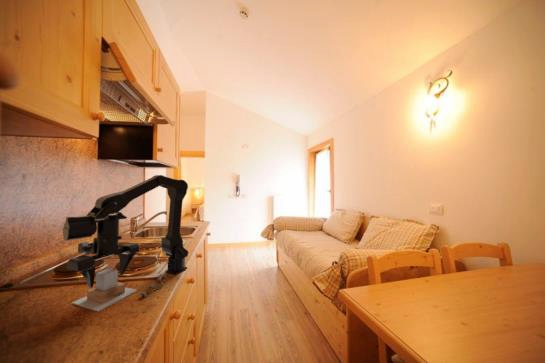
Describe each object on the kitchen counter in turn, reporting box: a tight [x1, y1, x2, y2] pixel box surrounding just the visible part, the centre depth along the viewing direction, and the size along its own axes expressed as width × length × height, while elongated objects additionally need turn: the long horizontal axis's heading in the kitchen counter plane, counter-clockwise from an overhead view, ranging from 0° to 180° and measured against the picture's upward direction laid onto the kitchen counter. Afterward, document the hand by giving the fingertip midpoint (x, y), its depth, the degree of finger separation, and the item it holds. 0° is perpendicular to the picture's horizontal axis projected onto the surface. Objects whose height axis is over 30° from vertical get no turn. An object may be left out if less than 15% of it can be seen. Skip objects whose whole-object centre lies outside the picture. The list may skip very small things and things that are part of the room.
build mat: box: [71, 286, 138, 313], centre depth 66 cm, size 12×12×1 cm
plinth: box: [86, 281, 126, 304], centre depth 66 cm, size 7×7×3 cm
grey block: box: [95, 267, 119, 291], centre depth 66 cm, size 4×4×5 cm
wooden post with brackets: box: [140, 274, 164, 298], centre depth 70 cm, size 2×8×4 cm, turn 162°
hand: (107, 280), depth 66 cm, fingers open, 9 cm apart
